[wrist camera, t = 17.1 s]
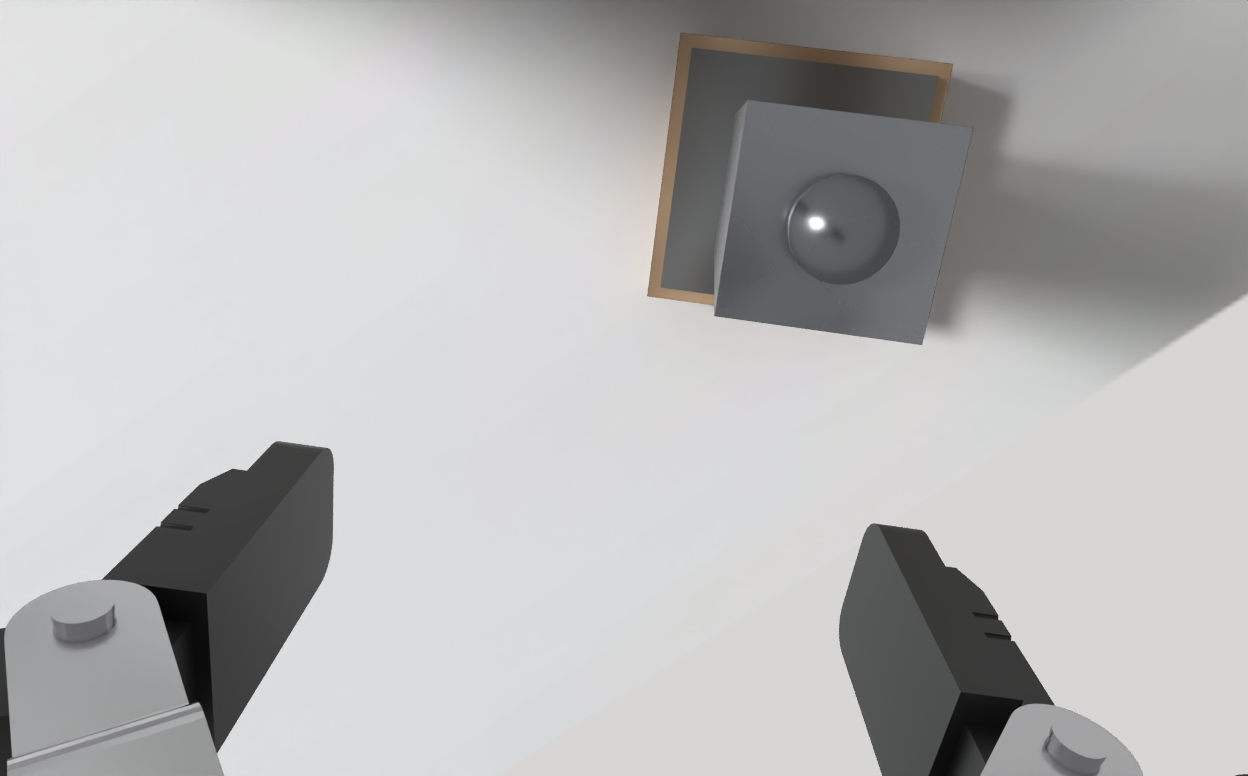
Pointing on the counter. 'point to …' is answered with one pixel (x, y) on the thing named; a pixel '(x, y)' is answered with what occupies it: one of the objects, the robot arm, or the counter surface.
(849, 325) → the block
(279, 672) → the counter surface
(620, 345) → the counter surface
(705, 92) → the stand
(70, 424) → the counter surface
